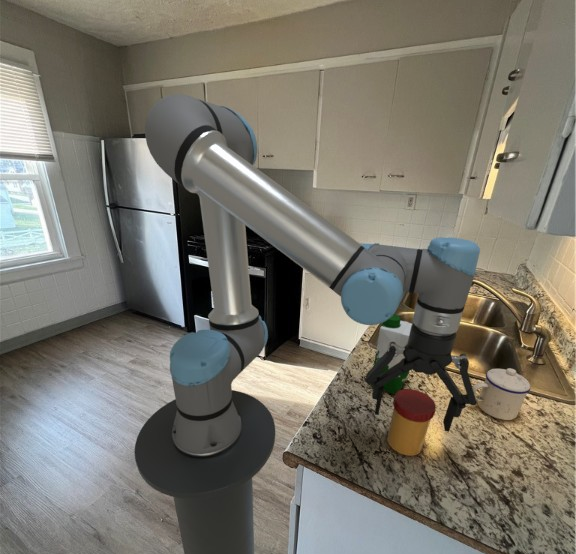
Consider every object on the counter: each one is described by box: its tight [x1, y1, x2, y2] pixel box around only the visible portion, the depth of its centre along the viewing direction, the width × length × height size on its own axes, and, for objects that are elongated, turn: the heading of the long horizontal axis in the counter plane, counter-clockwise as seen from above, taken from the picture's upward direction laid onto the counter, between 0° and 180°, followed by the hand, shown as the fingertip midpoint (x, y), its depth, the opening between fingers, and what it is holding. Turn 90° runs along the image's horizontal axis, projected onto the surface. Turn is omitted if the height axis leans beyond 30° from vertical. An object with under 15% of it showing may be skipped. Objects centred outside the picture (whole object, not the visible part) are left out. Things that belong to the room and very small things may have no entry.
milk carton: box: [371, 313, 413, 395], centre depth 82 cm, size 9×9×20 cm
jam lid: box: [392, 388, 437, 422], centre depth 64 cm, size 8×8×2 cm
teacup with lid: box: [472, 367, 531, 421], centre depth 76 cm, size 12×9×12 cm
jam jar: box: [386, 407, 432, 457], centre depth 66 cm, size 7×7×11 cm
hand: (410, 418), depth 65 cm, fingers open, 13 cm apart
